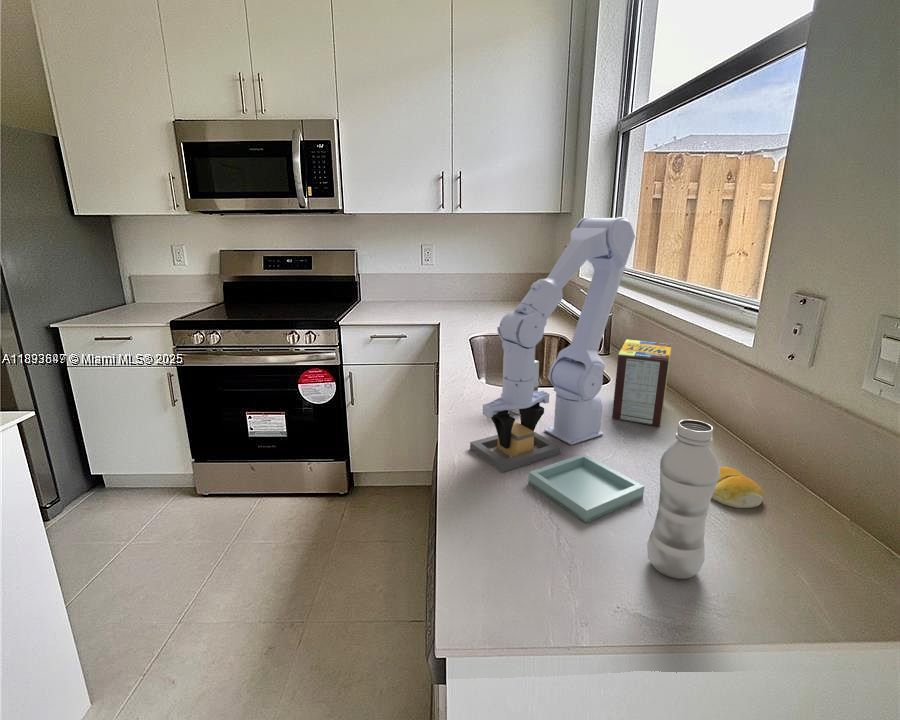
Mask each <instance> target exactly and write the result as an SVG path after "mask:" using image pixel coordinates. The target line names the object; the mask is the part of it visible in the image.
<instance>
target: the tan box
mask: <svg viewBox="0 0 900 720" xmlns="http://www.w3.org/2000/svg"><path fill="white" fill-rule="evenodd" d="M535 432H536V431H535V430H534V431H532V430H530V429H529V428H527V427H525V426H523V425H521V423H519V422H517V421H516V420H515V421H514V424H513V427H512V431H511V440H510V447H509V448H508V449H505V448H504V447H502V446H501V445H500V442H499V437H498V446H496V447H497V449H499V451H502V452H503V453H505V455H508V456H509V457H513V456H517V455H520V454H523V453H526V452H530V451H533V450H534V446H535V445H534V435H535Z"/></svg>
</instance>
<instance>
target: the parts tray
mask: <svg viewBox="0 0 900 720" xmlns="http://www.w3.org/2000/svg"><path fill="white" fill-rule="evenodd" d="M528 484H529V485H530V486H531V487H532V488H534V489H536V490H537V491H538V492H540V493H541V494H543V495H544V496H546V497H547V498H549V499H550V500H551V501H553V502H554V503H556V504H557V505H558V506H560V507H561V508H563V509H565V510H566V511H568V512H569V513H570V514H572V515H573V516H575V517H576V518H577V519H579V520H580V521H582V522H583V523H585V524H588V523H590V522H592V521H594V520H597V519H599V518H601V517H604V516H606V515H608V514H610V513H613V512H615V511H617V510H620V509H621V508H624V507H626V506H628V505H630V504H633V503H636V502H637V501H640V500H641V499H643V498H644V493H645V485H643V484H642V483H640V482H638V481H635V480H634V479H632V478H630V477H628V476H627V475H625V474H623V473H622V472H619V471H617V470H616V469H613V468H611V467H609V466H608V465H606V464H604V463H603V462H600V461H599V460H597V459H596V458H593V457H591V456H589V455H587V454H585V453H581V454H578V455H575V456H572V457H569V458H567V459H564V460H561V461H557V462H555V463H552V464H549V465H545V466H543V467H539V468H537V469H534V470H531V471H528Z"/></svg>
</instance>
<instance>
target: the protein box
mask: <svg viewBox="0 0 900 720" xmlns="http://www.w3.org/2000/svg"><path fill="white" fill-rule="evenodd" d="M671 354H672V343H665V342H658V341H657V342H656V341H645V340H639V339H638V340H635V339H625V341H624V343H623V345H622V347H621V348H620V350H619V352H618V354H617V365H616V373H615V384H614V394H613V405H612V415H611V419H612V420H619V421H623V422H629V423H630V422H631V423H635V424H641V425H648V426H653V427H658V426H659V427H661V423H662V417H663V410H664V404H665V397H666V390H667V385H668V375H669V370H670V362H671ZM659 427H658V428H659Z"/></svg>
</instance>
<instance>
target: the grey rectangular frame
mask: <svg viewBox="0 0 900 720" xmlns="http://www.w3.org/2000/svg"><path fill="white" fill-rule="evenodd" d="M534 432H535V435H534V444H535V445H536V446H538V447H539V448H536V449H533V451H530V452H526V453H523V454H520V455H517V456H513V457H511V456H509V457H507V458H504V457H502V456H500V455H499V454H497V453H496V452H495V451H493V450H492V449H490V448H494V447H497V446H498V434H495V435H492V436H488V437H484V438H481V439H477V440H473V441H470V443H469V449H470V450H471V451H472V452H473V453H474V454H476V455H477V456H479V457H480V458H481V459H483V460H484V461H486V462H487V463H489V464H490V465H491V466H493V467H494V468H496V469H497V470H499V471H500V472H501V473H506V472H509V471H511V470H514V469H517V468H520V467H523V466H526V465H530V464H532V463H536V462H539V461H542V460H545V459H548V458H551V457H555V456H557V455H560V454H561V453H562V445H560V444H557V443H555V442H554V441H552V440H550V439H549V438H547V437H544V436H543V435H541V434H540V433H537V431H534Z"/></svg>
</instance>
